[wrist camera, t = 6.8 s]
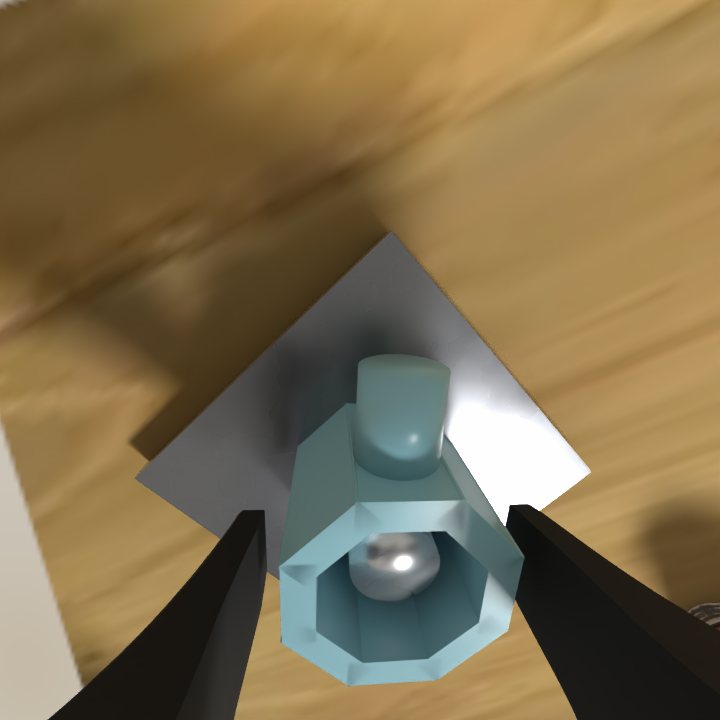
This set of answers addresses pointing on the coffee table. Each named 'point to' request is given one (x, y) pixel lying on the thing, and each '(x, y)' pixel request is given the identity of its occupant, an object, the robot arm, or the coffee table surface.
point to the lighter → (708, 613)
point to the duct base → (339, 386)
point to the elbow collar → (388, 515)
